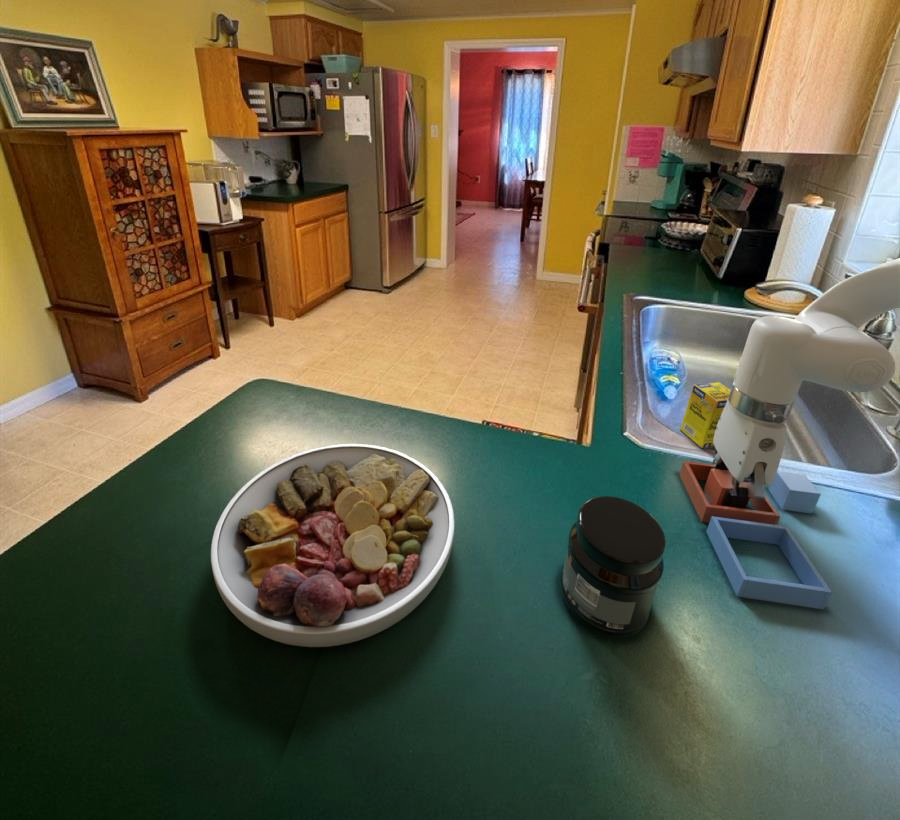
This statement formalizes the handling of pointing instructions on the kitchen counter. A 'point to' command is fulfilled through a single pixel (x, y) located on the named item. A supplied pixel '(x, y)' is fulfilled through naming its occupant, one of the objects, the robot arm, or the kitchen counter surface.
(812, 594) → the blue bin
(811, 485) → the blue block
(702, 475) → the terracotta bin
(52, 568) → the kitchen counter surface
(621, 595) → the supplement container
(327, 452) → the bowl
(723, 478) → the terracotta block
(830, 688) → the kitchen counter surface
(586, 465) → the kitchen counter surface
